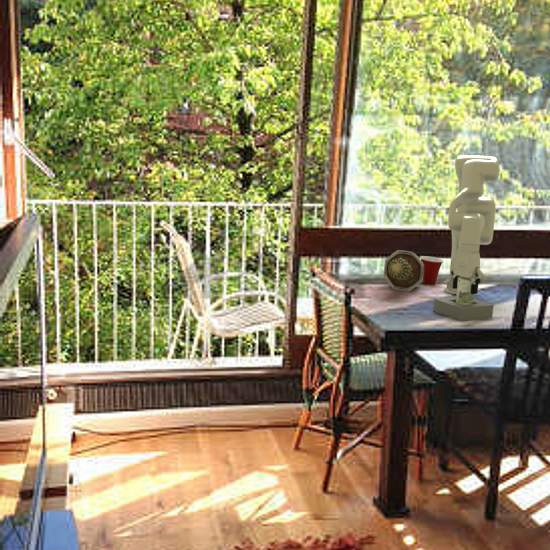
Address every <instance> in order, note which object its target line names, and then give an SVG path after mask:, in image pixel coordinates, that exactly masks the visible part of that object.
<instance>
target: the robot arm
mask: <svg viewBox="0 0 550 550" xmlns="http://www.w3.org/2000/svg"><path fill="white" fill-rule="evenodd" d="M454 161H455V162H454V169H455V173H456V178H457V181H458V194H457V195H455V196H454V198H453V199H452V200H451V202H450V204H449V208H448V217H447V226H448V228H449V230H450V231H451V255H450V266H449V275H448V276H449V277H448V278H447V279H446V280H444V281H443V285H446V287H444V292H445V293H447V294H450V295H454V294H456V293H457V283H458V277H464V278H468V279H470V278H471V281H472V283H473V284H471V292H470V293H471V294H473V295H477V294H478V292H479V291H478V290H479V285H480V284H481V283H482V281H483V279H484V277H485V273H483V271H481V254H480V245H485V246H487V245H490V244H492V242H493V239H494V229H495V219H496V202H495V200H494V199H493V198H492V197H488V196H483V195H484V194H483V193H484V182H491V183H492V182H493V183H494V182H497V181H498V179H499V176H500V170H501V169H500V164H499V161H498V159H497V157H495V156H487V155H472V154H471V155H469V154H467V155H465V154H464V155H459V156H457V158H455V160H454Z"/></svg>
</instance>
